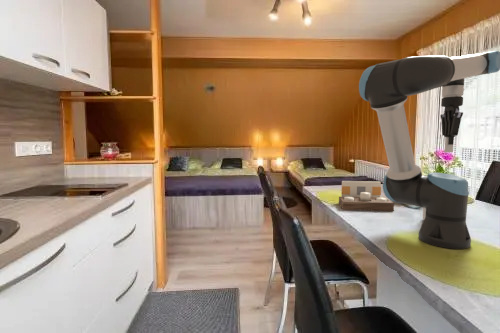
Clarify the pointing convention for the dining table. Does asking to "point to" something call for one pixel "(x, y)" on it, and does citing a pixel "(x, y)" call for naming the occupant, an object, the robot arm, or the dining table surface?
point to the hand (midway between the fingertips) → (448, 152)
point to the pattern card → (361, 188)
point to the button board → (366, 204)
